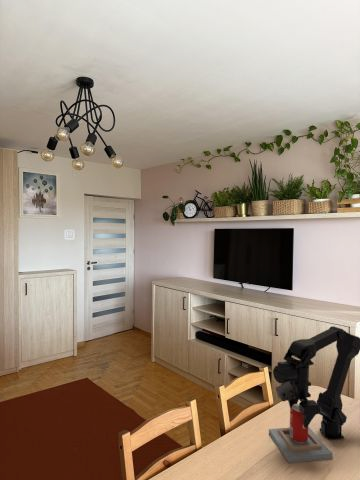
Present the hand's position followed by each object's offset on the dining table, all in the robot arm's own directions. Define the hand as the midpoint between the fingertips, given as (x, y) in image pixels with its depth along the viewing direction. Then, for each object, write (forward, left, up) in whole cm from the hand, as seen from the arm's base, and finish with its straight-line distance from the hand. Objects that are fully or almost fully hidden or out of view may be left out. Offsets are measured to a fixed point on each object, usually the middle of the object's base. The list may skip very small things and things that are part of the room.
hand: (298, 420), depth 124 cm
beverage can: (0, 0, -8) cm, 8 cm away
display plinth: (0, 0, -10) cm, 10 cm away
